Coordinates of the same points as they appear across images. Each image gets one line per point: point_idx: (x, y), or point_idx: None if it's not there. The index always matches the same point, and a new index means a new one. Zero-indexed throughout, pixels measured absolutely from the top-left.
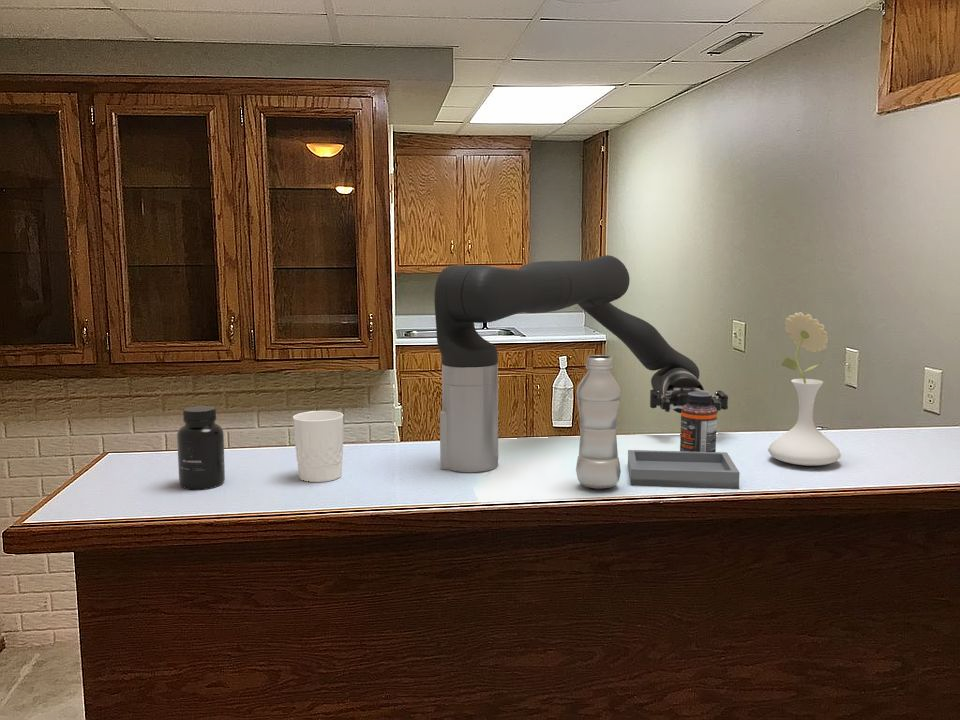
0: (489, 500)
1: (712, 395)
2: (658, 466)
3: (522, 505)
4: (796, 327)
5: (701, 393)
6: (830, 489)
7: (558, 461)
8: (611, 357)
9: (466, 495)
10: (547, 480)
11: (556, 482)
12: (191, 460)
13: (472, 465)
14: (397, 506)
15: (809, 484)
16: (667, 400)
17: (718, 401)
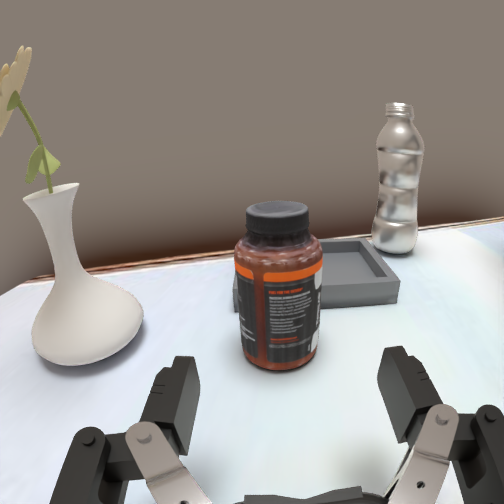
0: (450, 230)
1: (148, 461)
2: (343, 277)
3: (424, 227)
4: (17, 79)
5: (272, 207)
6: (140, 267)
7: (484, 297)
8: (386, 103)
9: (470, 233)
10: (446, 256)
11: (435, 254)
12: None
13: None
14: (484, 223)
15: (152, 275)
16: (396, 346)
17: (157, 394)
